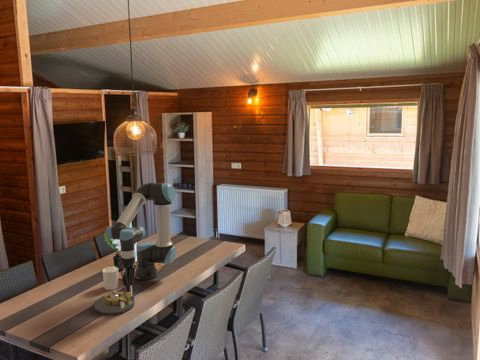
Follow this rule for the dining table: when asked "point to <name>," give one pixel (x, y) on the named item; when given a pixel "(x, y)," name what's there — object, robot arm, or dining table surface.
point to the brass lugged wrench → (117, 300)
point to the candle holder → (110, 278)
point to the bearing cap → (112, 306)
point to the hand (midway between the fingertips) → (129, 295)
